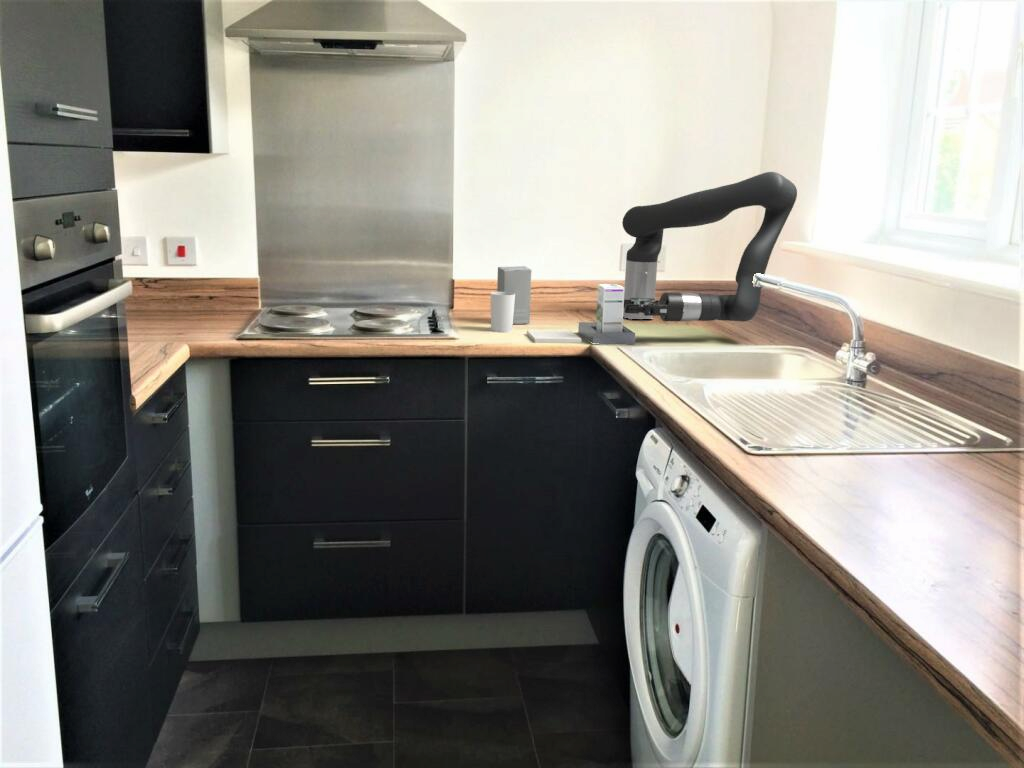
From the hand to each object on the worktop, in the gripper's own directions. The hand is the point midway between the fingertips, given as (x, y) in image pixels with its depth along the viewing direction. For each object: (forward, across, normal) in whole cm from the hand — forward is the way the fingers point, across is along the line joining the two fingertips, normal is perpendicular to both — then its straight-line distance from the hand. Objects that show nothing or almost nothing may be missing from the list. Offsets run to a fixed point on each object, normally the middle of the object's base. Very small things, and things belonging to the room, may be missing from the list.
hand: (620, 306), depth 242 cm
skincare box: (+24, -26, +9) cm, 36 cm away
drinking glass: (+29, -14, +9) cm, 33 cm away
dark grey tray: (+3, -3, +9) cm, 10 cm away
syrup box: (+3, 0, +9) cm, 10 cm away
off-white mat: (+17, -3, +9) cm, 19 cm away
